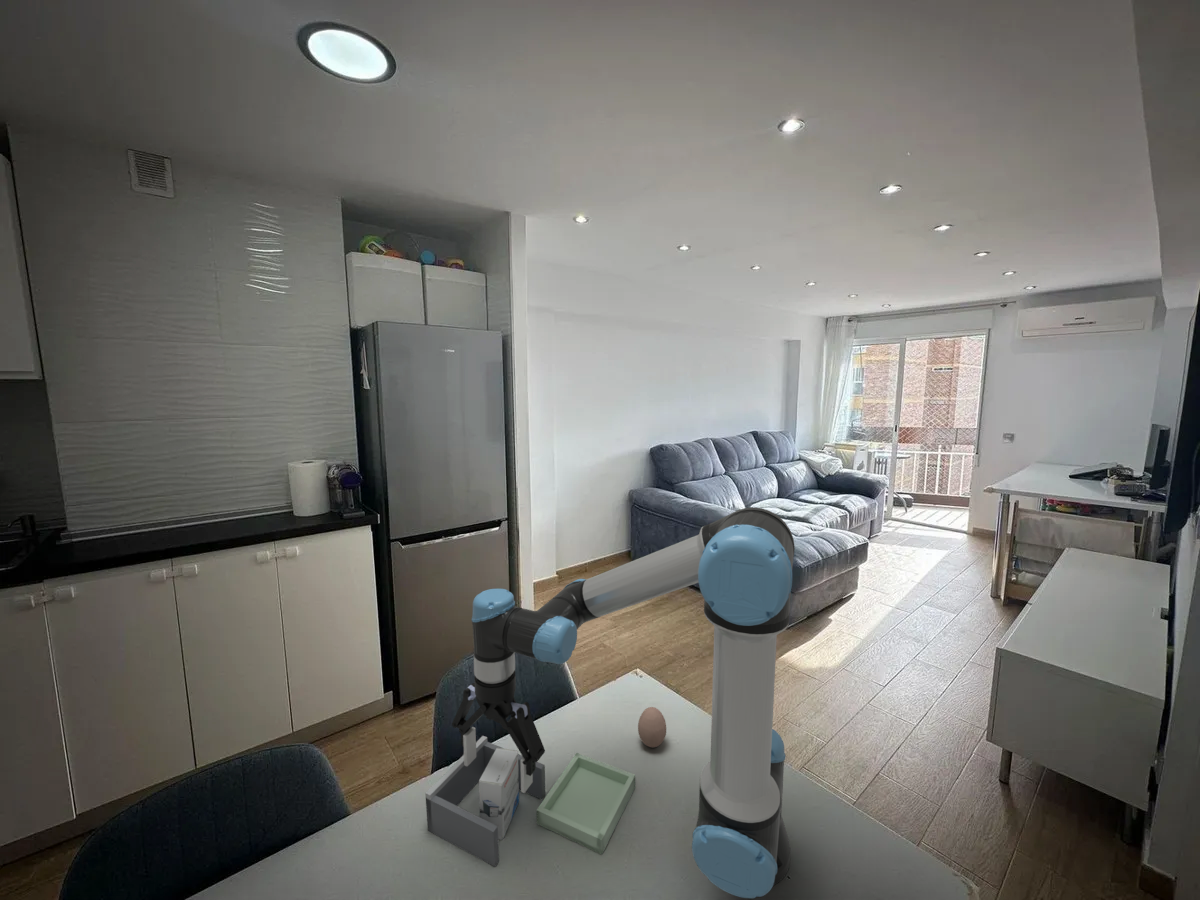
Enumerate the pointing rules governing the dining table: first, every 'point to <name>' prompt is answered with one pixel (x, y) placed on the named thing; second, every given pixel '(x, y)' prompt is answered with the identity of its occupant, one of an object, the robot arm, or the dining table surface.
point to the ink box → (500, 789)
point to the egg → (652, 727)
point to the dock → (461, 823)
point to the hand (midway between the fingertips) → (497, 773)
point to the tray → (587, 802)
